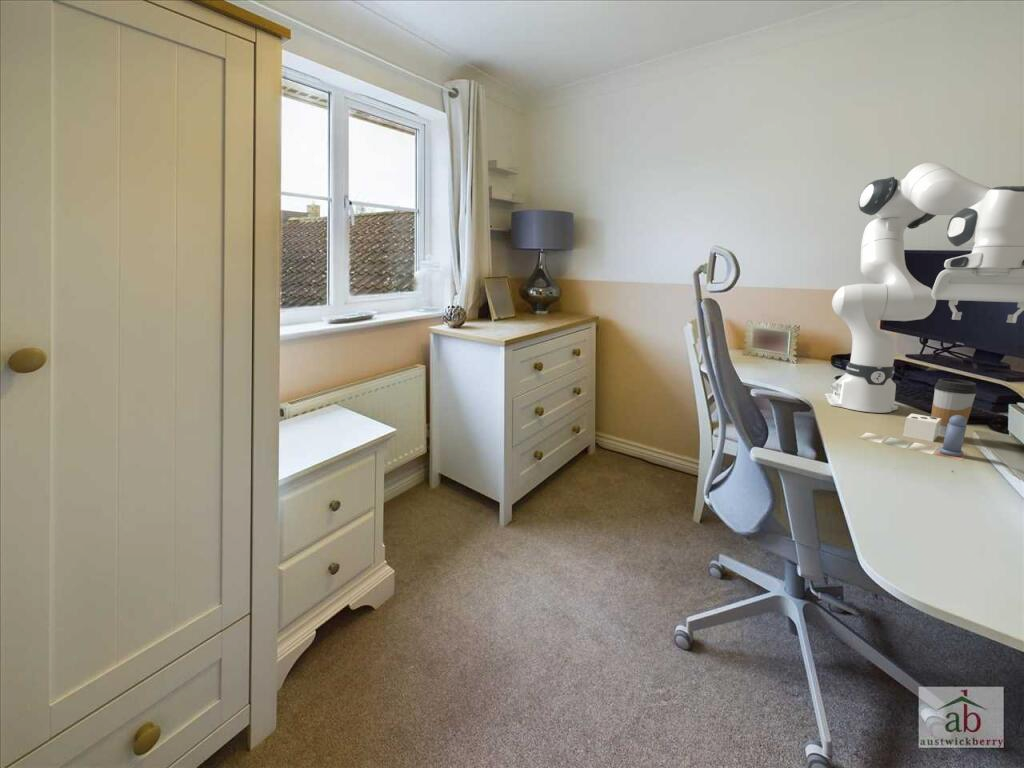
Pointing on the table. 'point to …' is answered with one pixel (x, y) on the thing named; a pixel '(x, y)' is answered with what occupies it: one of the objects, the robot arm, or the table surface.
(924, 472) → the table surface
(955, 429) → the pawn
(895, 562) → the table surface
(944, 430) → the coffee cup
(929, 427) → the die
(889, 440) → the board
